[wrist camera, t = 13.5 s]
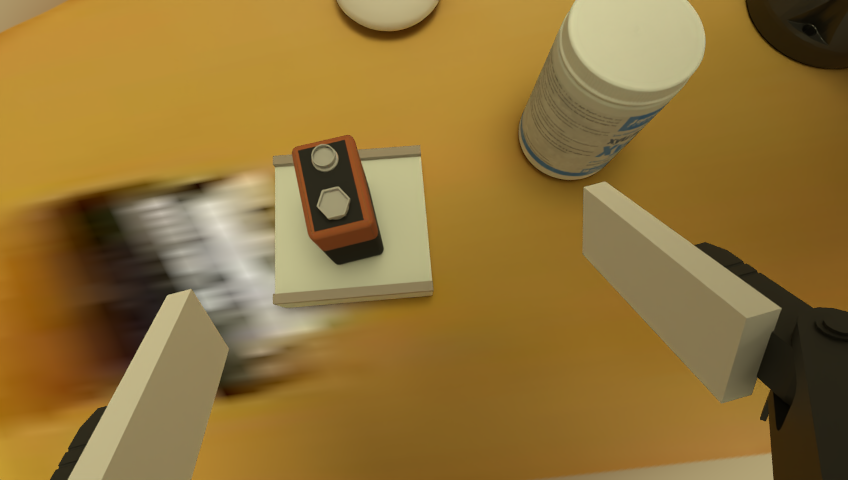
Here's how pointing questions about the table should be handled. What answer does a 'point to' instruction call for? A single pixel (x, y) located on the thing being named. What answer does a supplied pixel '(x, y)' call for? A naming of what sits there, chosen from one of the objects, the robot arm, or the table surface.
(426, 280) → the stand
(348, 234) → the battery
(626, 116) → the supplement tub
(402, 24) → the flower in vase
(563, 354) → the table surface
